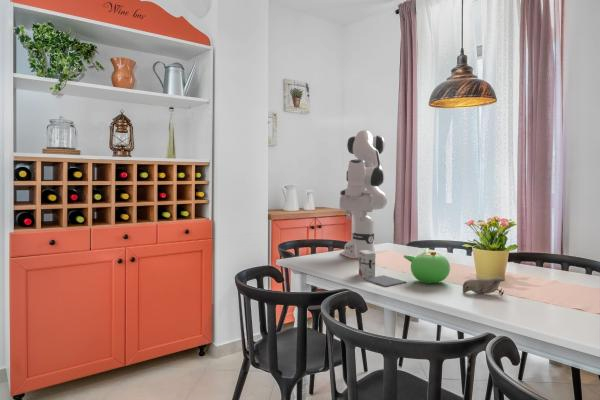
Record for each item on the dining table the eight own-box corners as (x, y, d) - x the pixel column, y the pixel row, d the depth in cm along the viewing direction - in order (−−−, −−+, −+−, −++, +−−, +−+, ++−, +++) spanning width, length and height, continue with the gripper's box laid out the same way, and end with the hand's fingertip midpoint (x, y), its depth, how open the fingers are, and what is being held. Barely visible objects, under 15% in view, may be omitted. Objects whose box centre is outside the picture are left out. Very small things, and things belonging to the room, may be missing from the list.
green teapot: (430, 289, 181) (431, 255, 180) (401, 280, 195) (401, 249, 194) (456, 283, 191) (458, 251, 190) (427, 275, 205) (428, 245, 204)
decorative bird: (461, 291, 179) (461, 274, 179) (501, 293, 177) (502, 276, 176) (464, 295, 174) (464, 277, 174) (505, 297, 172) (506, 279, 171)
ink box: (358, 274, 208) (358, 250, 207) (367, 273, 209) (367, 249, 208) (365, 278, 200) (366, 253, 199) (375, 277, 201) (375, 252, 200)
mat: (363, 280, 196) (363, 278, 196) (383, 276, 203) (383, 275, 203) (385, 287, 184) (385, 285, 184) (406, 282, 192) (406, 281, 191)
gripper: (376, 193, 203) (375, 221, 203) (346, 191, 219) (346, 218, 220) (366, 193, 199) (366, 222, 199) (337, 191, 215) (337, 218, 216)
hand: (355, 220), depth 210 cm, fingers open, 8 cm apart
